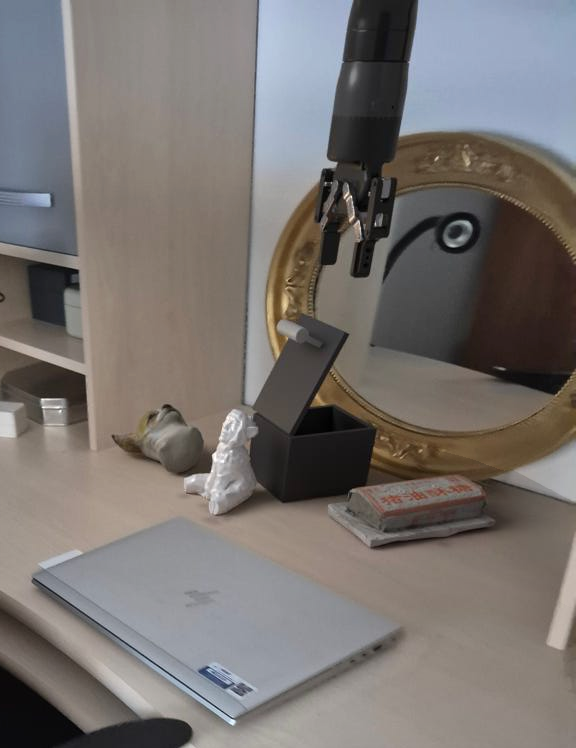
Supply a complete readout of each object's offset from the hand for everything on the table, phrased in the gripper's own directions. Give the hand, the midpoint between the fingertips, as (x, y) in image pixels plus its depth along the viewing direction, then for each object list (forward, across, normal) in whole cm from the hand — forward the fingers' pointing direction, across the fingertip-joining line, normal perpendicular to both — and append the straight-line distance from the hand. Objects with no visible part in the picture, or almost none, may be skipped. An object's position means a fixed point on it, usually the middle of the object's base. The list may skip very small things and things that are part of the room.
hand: (342, 270), depth 101 cm
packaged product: (+28, -14, -7) cm, 32 cm away
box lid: (+12, 0, +4) cm, 13 cm away
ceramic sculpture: (+28, +13, +17) cm, 35 cm away
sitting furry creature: (+28, -2, +13) cm, 31 cm away
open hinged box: (+27, 0, 0) cm, 27 cm away
